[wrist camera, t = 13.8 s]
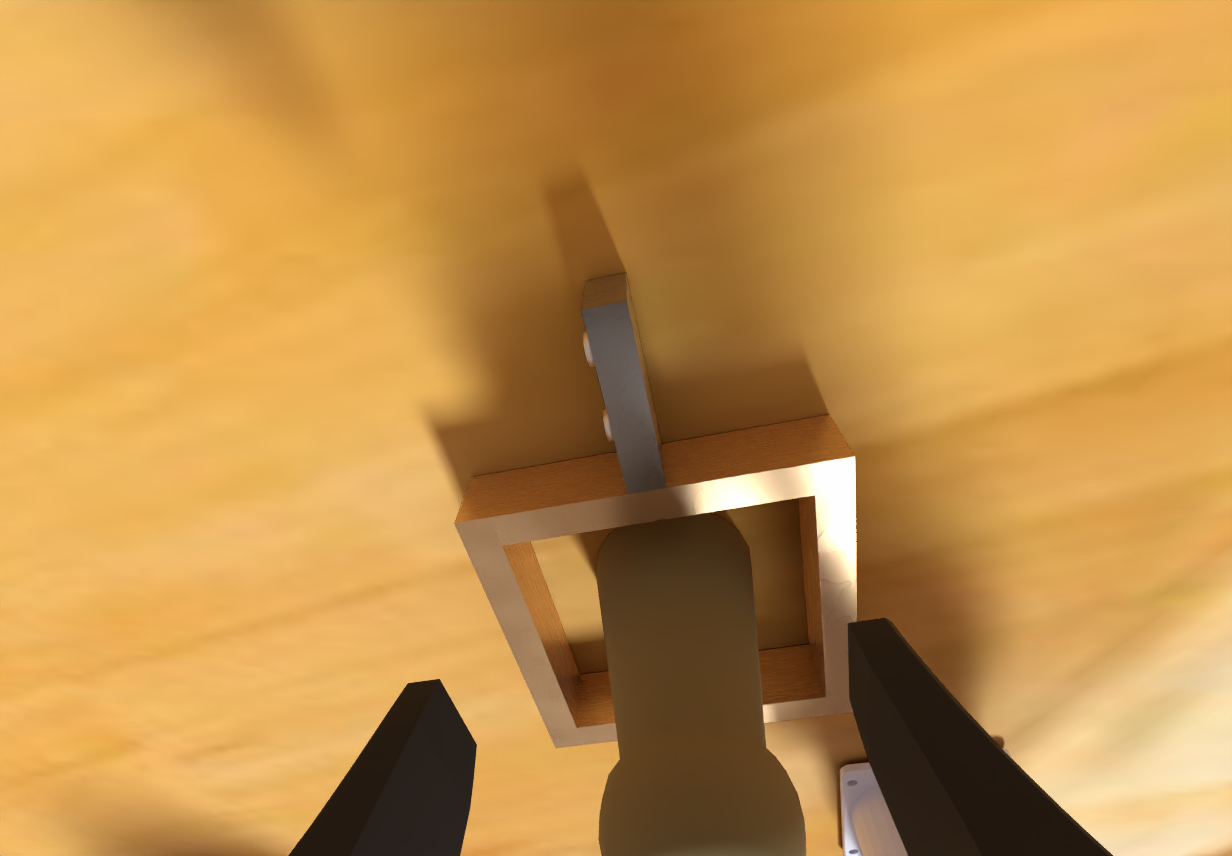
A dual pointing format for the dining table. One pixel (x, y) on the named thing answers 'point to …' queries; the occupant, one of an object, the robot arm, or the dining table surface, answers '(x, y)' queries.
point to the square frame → (657, 490)
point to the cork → (688, 698)
